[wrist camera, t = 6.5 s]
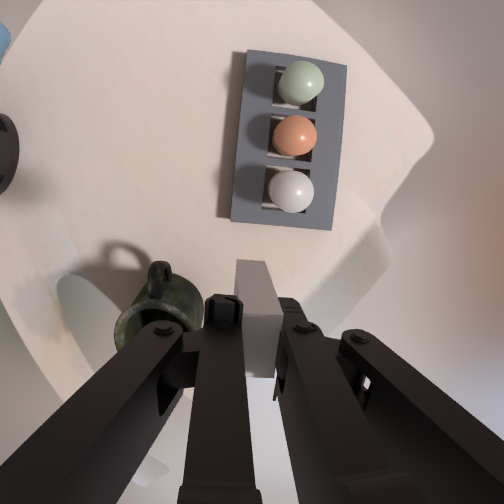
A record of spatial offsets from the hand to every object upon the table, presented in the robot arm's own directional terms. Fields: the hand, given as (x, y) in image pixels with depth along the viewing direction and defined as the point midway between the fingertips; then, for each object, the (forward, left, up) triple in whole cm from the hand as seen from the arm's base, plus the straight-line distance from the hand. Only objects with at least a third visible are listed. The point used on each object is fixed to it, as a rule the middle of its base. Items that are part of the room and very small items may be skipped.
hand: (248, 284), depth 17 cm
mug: (-9, -13, -29) cm, 33 cm away
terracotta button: (+6, +11, -28) cm, 30 cm away
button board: (+6, +11, -28) cm, 31 cm away
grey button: (+6, +4, -26) cm, 27 cm away
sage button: (+6, +18, -26) cm, 33 cm away
